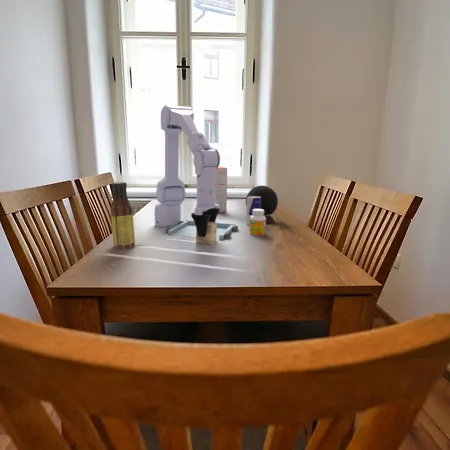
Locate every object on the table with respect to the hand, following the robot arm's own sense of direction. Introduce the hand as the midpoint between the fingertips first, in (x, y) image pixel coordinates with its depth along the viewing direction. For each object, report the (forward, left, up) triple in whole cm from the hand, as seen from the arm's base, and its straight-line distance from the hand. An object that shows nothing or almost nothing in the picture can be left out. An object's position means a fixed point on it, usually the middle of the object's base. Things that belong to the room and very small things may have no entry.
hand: (205, 233), depth 106 cm
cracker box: (-14, +56, -4) cm, 58 cm away
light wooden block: (0, 0, -3) cm, 3 cm away
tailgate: (-5, +2, -3) cm, 7 cm away
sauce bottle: (-22, -11, -4) cm, 25 cm away
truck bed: (-5, +11, -4) cm, 13 cm away
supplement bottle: (+14, +15, -4) cm, 21 cm away
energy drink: (+10, +28, -4) cm, 30 cm away
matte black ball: (+10, +40, -4) cm, 42 cm away
